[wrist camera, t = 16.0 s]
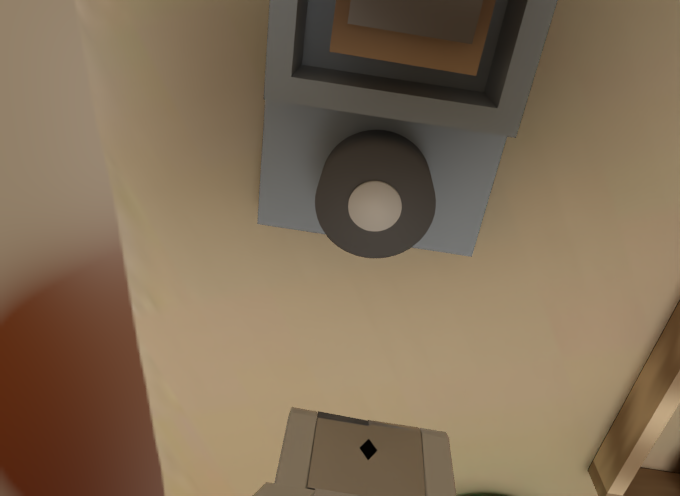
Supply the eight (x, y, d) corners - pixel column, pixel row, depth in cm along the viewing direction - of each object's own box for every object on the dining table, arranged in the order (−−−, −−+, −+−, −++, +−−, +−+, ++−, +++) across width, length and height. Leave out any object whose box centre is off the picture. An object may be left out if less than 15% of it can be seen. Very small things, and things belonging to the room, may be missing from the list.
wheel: (328, 121, 22) (321, 139, 20) (442, 139, 22) (449, 158, 20) (315, 224, 25) (308, 250, 22) (418, 240, 25) (422, 268, 22)
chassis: (293, -193, 20) (267, -239, 15) (575, -150, 20) (630, -184, 15) (265, 208, 28) (243, 252, 24) (465, 238, 28) (481, 288, 24)
